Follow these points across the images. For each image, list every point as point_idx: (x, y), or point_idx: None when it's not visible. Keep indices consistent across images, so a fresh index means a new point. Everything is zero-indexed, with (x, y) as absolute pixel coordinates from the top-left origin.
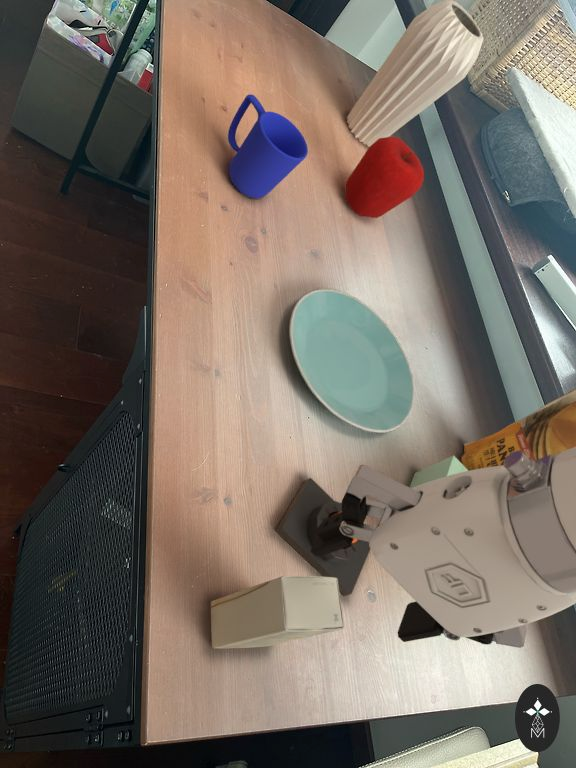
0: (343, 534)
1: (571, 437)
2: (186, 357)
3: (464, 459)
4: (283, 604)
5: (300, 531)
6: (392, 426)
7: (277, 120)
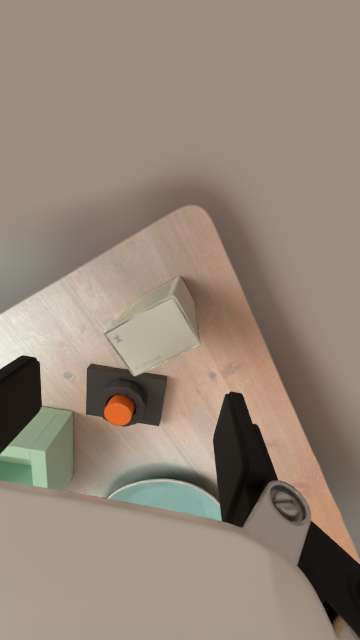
0: (276, 481)
1: None
2: (284, 444)
3: None
4: (186, 319)
5: (149, 387)
6: (110, 498)
7: None
